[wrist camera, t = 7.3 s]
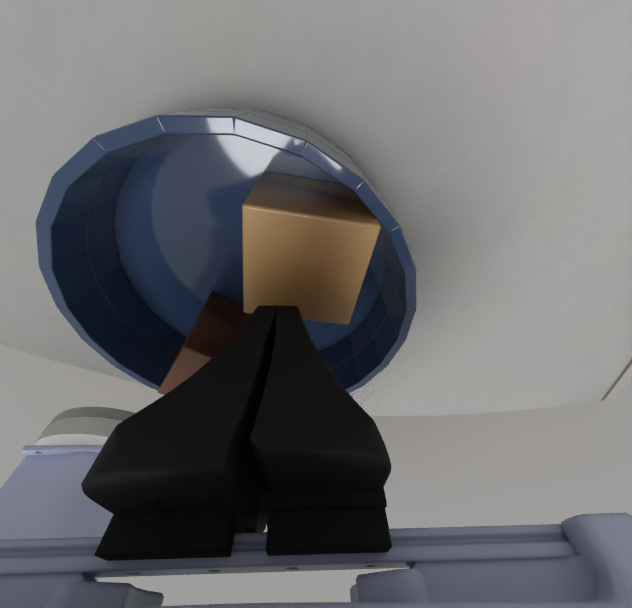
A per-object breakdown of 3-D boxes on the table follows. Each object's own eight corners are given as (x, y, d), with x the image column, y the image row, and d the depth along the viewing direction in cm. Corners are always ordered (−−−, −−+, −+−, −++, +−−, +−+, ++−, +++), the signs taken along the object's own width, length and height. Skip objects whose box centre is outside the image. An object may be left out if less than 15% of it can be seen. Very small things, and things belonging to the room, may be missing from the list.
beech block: (260, 259, 13) (243, 313, 10) (263, 170, 10) (241, 204, 7) (340, 270, 13) (349, 325, 10) (362, 187, 11) (382, 226, 8)
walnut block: (187, 334, 16) (156, 393, 13) (212, 289, 14) (183, 347, 11) (247, 358, 17) (233, 416, 14) (278, 321, 15) (269, 380, 12)
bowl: (169, 357, 18) (139, 412, 15) (39, 105, 9) (-100, 110, 6) (370, 358, 18) (381, 412, 15) (425, 111, 9) (480, 120, 6)
